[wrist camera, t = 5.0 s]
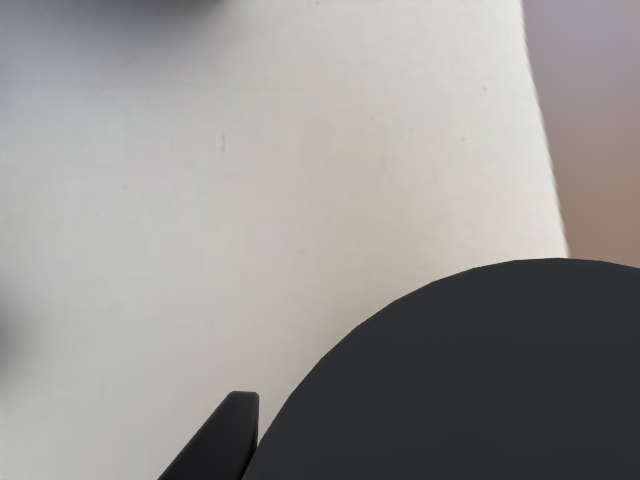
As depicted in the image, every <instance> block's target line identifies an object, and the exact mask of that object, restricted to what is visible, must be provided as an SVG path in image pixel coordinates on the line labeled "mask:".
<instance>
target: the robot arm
mask: <svg viewBox="0 0 640 480" xmlns="http://www.w3.org/2000/svg"><path fill="white" fill-rule="evenodd" d="M258 418H259V395H258V394H257V393H256V392H244V391H232V392H230V393H229V394H228V395H227V396H226V398H225V399H224V400H223V401H222V402H221V404H220V405H219V406H218V407H217V408H216V410H215V411H214V412H213V413H212V415H211V416H210V417H209V418H208V419H207V421H206V422H205V423H204V424H203V425H202V427H201V428H200V429H199V430H198V431H197V433H196V434H195V435H194V436H193V437H192V439H191V440H190V441H189V442H188V443H187V445H186V446H185V447H184V448H183V449H182V451H181V452H180V453H179V454H178V455H177V457H176V458H175V459H174V460H173V461H172V463H171V464H170V465H169V466H168V467H167V469H166V470H165V471H164V472H163V473H162V475H161V476H160V477H159V478H158V479H157V480H242V478H243V476H244V474H245V472H246V470H247V468H248V466H249V464H250V461H251V459H252V457H253V455H254V453H255V451H256V449H257V439H258Z"/></svg>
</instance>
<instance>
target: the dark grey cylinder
mask: <svg viewBox="0 0 640 480" xmlns="http://www.w3.org/2000/svg"><path fill="white" fill-rule="evenodd" d="M242 480H640V268H634V267H629V266H624V265H619V264H615V263H609V262H604V261H594V260H580V259H567V258H545V259H527V260H513V261H508V262H503V263H498V264H492V265H487V266H482V267H477V268H472V269H469V270H466V271H463V272H460V273H457V274H455V275H452V276H449V277H446V278H443V279H440V280H437V281H434V282H431V283H429V284H427V285H425V286H423V287H421V288H419V289H417V290H415V291H413V292H411V293H409V294H407V295H405V296H403V297H401V298H399V299H397V300H395V301H393V302H392V303H390V304H389V305H388V306H386V307H385V308H383V309H382V310H380V311H379V312H377V313H376V314H374V315H373V316H371V317H370V318H369V319H367V320H366V321H364V322H363V323H361V324H360V325H358V326H357V327H356V328H354V329H353V330H352V331H351V332H350V333H349V334H348V335H347V336H346V337H345V338H343V339H342V340H341V341H340V342H339V343H338V344H337V345H336V346H335V347H333V348H332V349H331V350H330V351H329V352H328V353H327V354H326V355H325V356H324V357H322V358H321V359H320V361H319V362H318V363H317V364H316V365H315V367H314V368H313V369H312V370H311V371H310V372H309V374H308V375H307V376H306V377H305V378H304V380H303V381H302V382H301V383H300V384H299V385H298V387H297V388H296V389H295V390H294V391H293V392H292V394H291V395H290V396H289V398H288V399H287V401H286V402H285V404H284V405H283V407H282V408H281V410H280V411H279V413H278V414H277V416H276V418H275V419H274V421H273V422H272V424H271V425H270V427H269V428H268V430H267V431H266V433H265V435H264V436H263V438H262V439H261V441H260V443H259V445H258V447H257V449H256V451H255V453H254V455H253V457H252V459H251V461H250V464H249V466H248V468H247V470H246V472H245V474H244V476H243V478H242Z"/></svg>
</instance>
